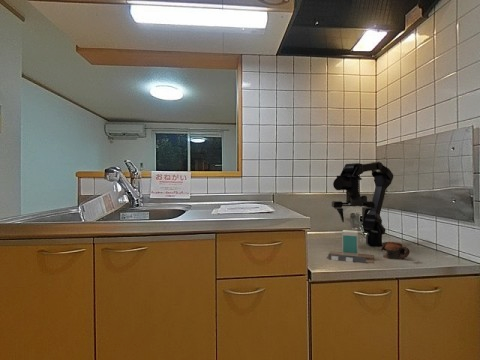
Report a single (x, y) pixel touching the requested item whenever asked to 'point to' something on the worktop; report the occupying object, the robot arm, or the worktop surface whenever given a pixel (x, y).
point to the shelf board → (368, 257)
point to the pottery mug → (395, 250)
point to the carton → (350, 243)
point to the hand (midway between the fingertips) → (353, 222)
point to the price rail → (347, 258)
